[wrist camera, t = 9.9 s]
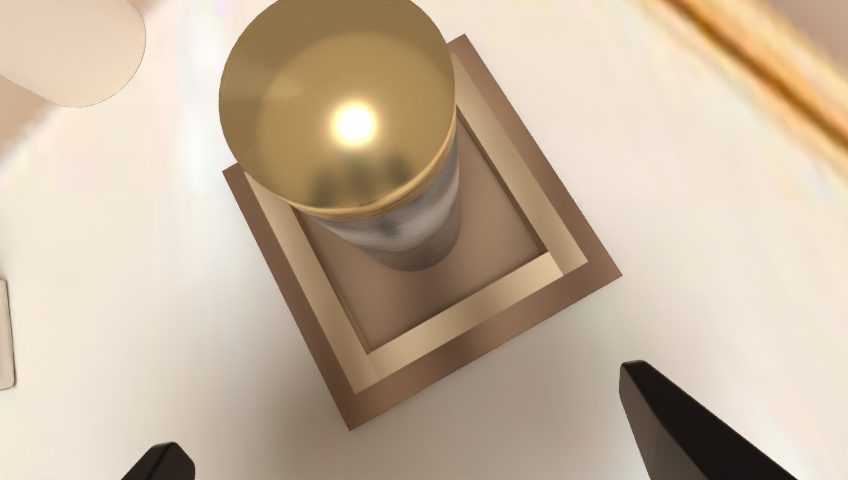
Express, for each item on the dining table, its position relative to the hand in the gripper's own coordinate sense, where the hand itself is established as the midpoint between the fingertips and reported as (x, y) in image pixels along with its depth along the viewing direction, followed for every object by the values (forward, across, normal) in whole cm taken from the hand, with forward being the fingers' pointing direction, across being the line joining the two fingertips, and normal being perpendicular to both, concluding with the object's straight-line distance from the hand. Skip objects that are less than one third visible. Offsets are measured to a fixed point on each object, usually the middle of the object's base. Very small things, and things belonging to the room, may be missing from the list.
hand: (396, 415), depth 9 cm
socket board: (+14, 0, +4) cm, 14 cm away
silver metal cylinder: (+13, 0, +4) cm, 13 cm away
